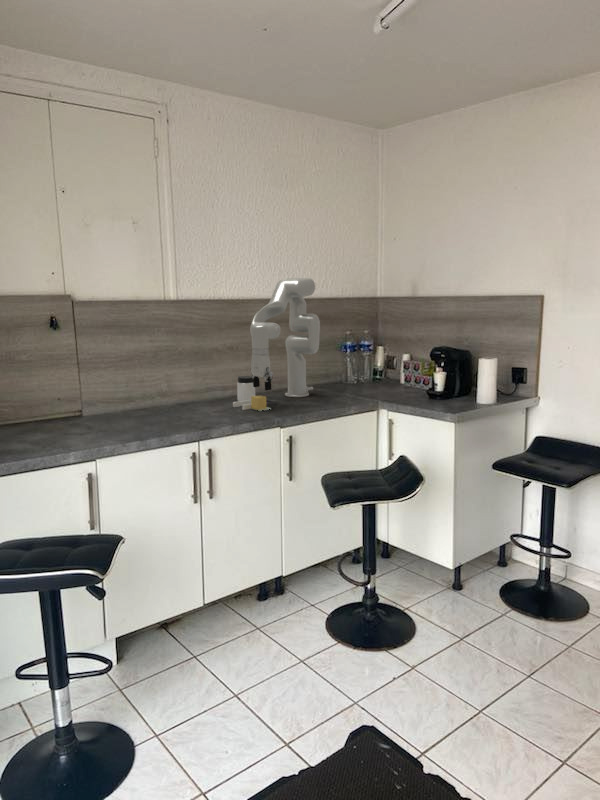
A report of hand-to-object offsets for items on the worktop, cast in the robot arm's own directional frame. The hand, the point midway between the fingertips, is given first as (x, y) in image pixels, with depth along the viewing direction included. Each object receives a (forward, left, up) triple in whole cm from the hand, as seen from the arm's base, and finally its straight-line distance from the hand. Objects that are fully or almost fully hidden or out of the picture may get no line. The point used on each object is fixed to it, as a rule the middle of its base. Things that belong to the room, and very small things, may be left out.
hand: (262, 388), depth 266 cm
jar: (-5, -22, -10) cm, 25 cm away
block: (+2, +1, -9) cm, 9 cm away
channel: (+2, -8, -10) cm, 13 cm away
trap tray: (-7, -8, -10) cm, 14 cm away
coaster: (+1, +1, -10) cm, 10 cm away
